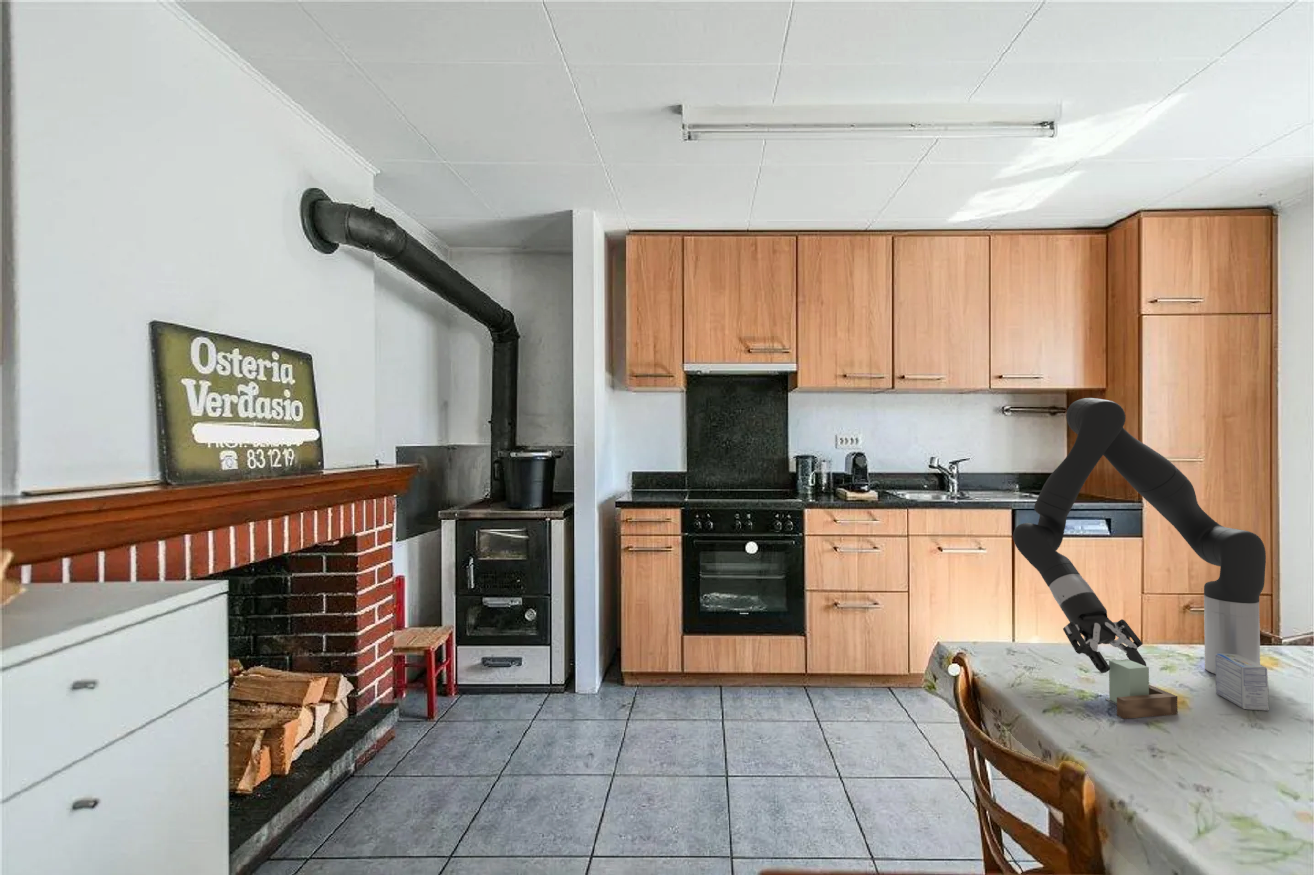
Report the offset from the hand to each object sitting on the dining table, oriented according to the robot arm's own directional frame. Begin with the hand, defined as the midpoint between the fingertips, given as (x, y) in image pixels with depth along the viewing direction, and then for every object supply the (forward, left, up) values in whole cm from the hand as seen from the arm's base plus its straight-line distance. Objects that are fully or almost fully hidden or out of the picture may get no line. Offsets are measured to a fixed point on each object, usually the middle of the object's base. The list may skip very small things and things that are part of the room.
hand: (1124, 670), depth 124 cm
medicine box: (-18, +15, -7) cm, 25 cm away
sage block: (+1, +1, -6) cm, 6 cm away
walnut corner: (+1, 0, -7) cm, 7 cm away
